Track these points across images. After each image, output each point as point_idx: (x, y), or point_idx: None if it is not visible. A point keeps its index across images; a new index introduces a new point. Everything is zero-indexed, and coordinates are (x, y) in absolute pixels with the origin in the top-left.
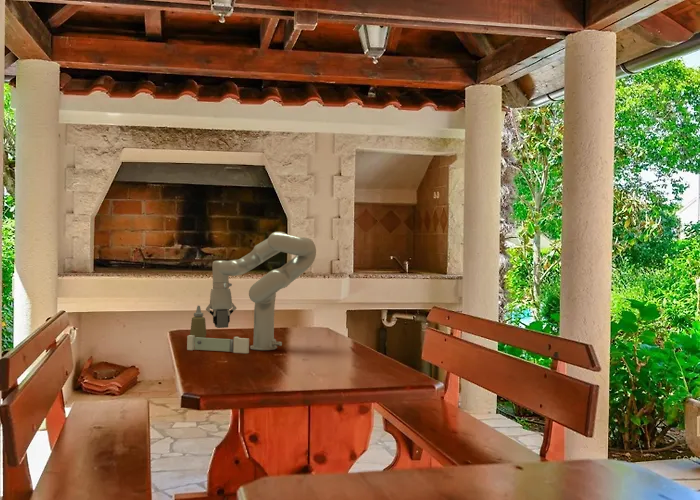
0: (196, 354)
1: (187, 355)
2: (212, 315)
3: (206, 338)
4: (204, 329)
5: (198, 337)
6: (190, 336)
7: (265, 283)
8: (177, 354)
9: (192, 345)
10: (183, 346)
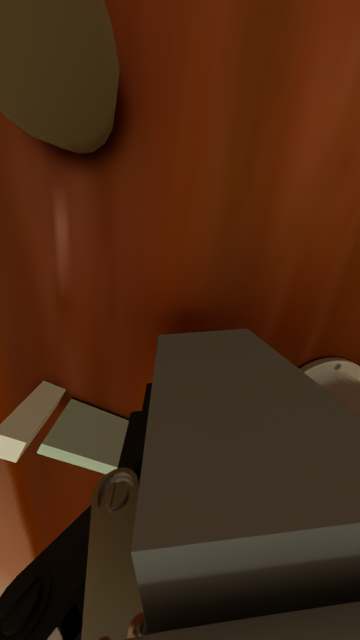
0: (79, 478)
1: (49, 491)
2: (102, 500)
3: (99, 471)
4: (83, 76)
5: (56, 449)
6: (6, 457)
7: None
8: (11, 476)
9: (48, 417)
10: (3, 297)
